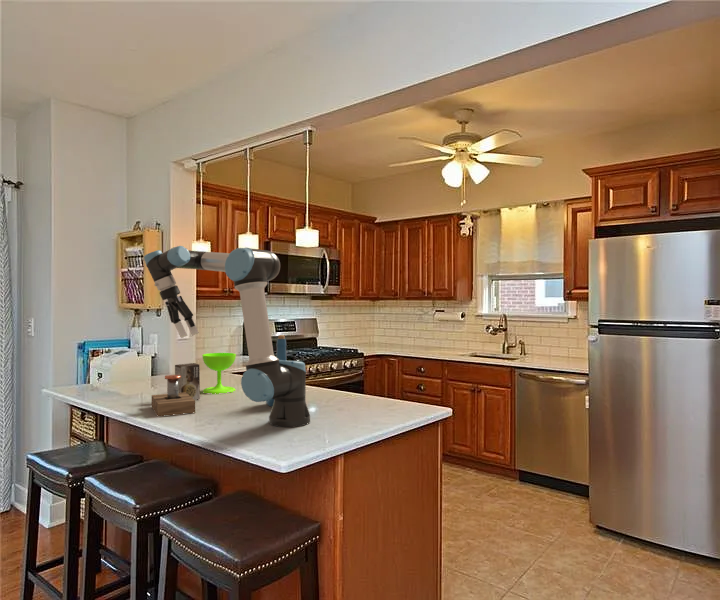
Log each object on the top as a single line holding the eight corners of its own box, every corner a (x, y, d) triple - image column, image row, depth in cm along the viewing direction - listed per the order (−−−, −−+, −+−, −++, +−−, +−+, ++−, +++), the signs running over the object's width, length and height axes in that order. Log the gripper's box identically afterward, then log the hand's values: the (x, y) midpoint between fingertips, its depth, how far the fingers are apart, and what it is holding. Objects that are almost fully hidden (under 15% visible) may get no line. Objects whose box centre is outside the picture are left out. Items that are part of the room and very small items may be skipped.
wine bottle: (259, 405, 229) (259, 335, 228) (283, 400, 238) (283, 333, 238) (279, 409, 219) (279, 337, 219) (303, 405, 229) (303, 335, 229)
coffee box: (193, 397, 244) (193, 362, 244) (200, 399, 239) (200, 364, 239) (174, 400, 238) (174, 364, 237) (181, 402, 233) (181, 365, 233)
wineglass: (221, 387, 272) (221, 352, 272) (242, 390, 263) (242, 354, 263) (195, 391, 259) (195, 354, 259) (216, 395, 250) (216, 357, 250)
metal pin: (182, 408, 217) (182, 376, 217) (165, 409, 214) (166, 377, 214) (179, 405, 223) (179, 374, 222) (163, 406, 220) (163, 375, 219)
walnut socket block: (195, 412, 213) (195, 400, 213) (158, 416, 206) (158, 403, 206) (186, 403, 230) (186, 392, 230) (151, 406, 224) (151, 395, 224)
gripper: (150, 295, 223) (171, 341, 226) (168, 286, 204) (192, 337, 207) (166, 289, 228) (187, 334, 231) (186, 279, 208) (209, 329, 211)
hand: (189, 335), depth 219 cm, fingers open, 13 cm apart
